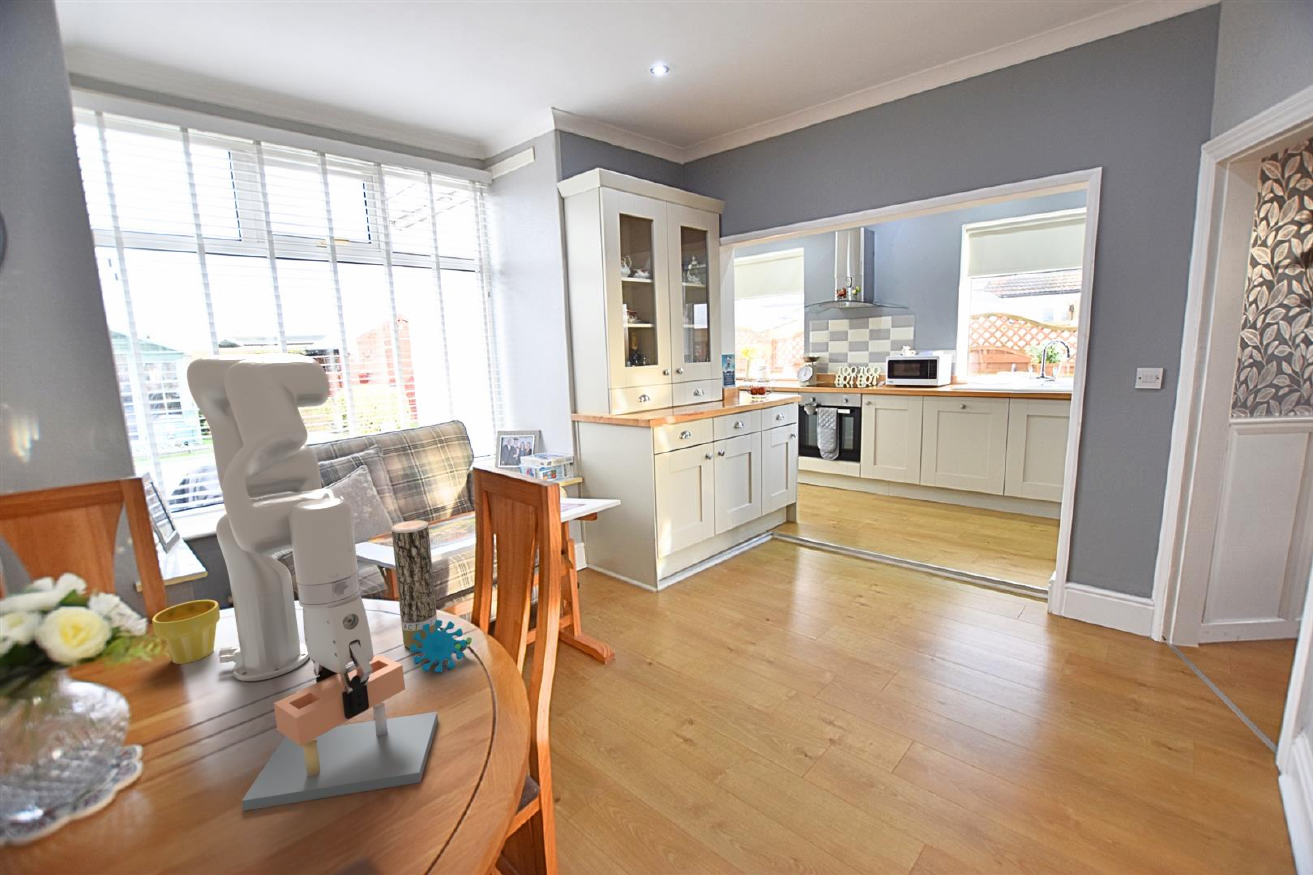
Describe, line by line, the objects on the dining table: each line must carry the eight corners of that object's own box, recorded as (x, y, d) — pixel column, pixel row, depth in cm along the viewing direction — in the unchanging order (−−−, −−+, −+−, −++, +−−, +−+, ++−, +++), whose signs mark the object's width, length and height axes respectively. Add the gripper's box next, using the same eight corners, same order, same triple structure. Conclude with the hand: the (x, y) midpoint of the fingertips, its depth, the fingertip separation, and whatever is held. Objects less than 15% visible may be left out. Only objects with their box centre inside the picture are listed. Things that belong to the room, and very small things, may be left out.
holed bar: (300, 746, 76) (296, 718, 75) (277, 729, 79) (273, 703, 79) (405, 689, 88) (402, 664, 87) (381, 677, 91) (378, 653, 91)
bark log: (426, 631, 124) (415, 518, 121) (445, 639, 120) (434, 523, 117) (397, 644, 119) (384, 527, 115) (415, 653, 115) (403, 532, 111)
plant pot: (190, 671, 111) (182, 623, 110) (145, 667, 113) (137, 620, 112) (237, 644, 121) (230, 600, 120) (196, 641, 123) (189, 598, 122)
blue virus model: (409, 673, 105) (411, 620, 110) (408, 684, 109) (409, 632, 115) (473, 667, 109) (471, 616, 115) (469, 677, 113) (468, 627, 119)
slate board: (243, 810, 76) (236, 769, 75) (288, 741, 89) (283, 705, 89) (420, 782, 80) (416, 742, 79) (437, 720, 94) (434, 685, 93)
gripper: (390, 590, 79) (403, 710, 82) (325, 567, 89) (338, 676, 91) (334, 611, 73) (350, 741, 75) (271, 584, 83) (287, 700, 85)
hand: (343, 704), depth 83 cm, fingers closed on holed bar, 6 cm apart
